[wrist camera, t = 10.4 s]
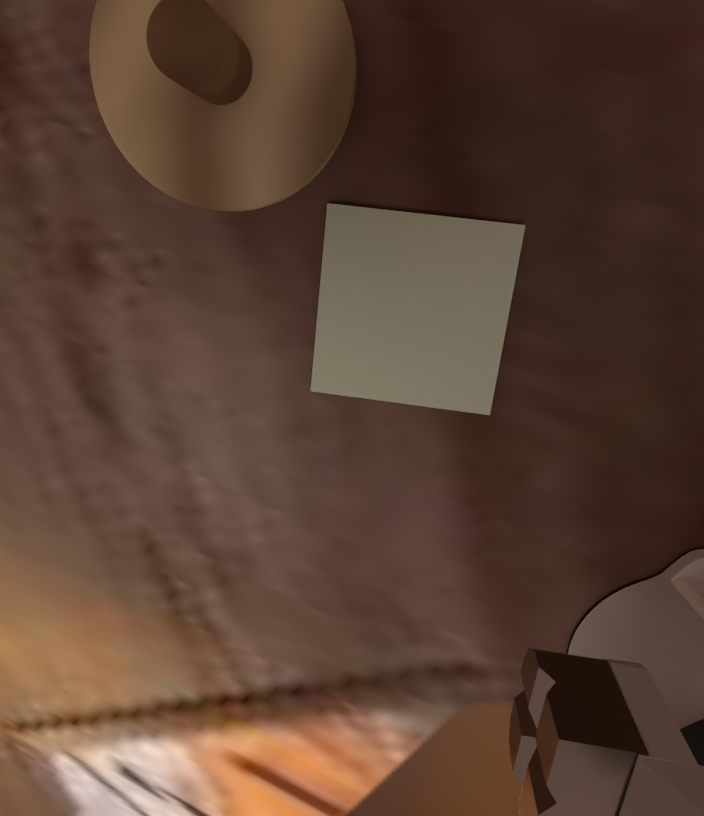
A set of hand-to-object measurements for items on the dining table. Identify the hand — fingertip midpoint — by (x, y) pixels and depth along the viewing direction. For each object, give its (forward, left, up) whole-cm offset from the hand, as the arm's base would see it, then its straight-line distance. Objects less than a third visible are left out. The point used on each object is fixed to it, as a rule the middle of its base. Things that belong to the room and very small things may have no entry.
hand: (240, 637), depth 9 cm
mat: (-2, -1, -31) cm, 31 cm away
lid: (+8, -12, -22) cm, 27 cm away
